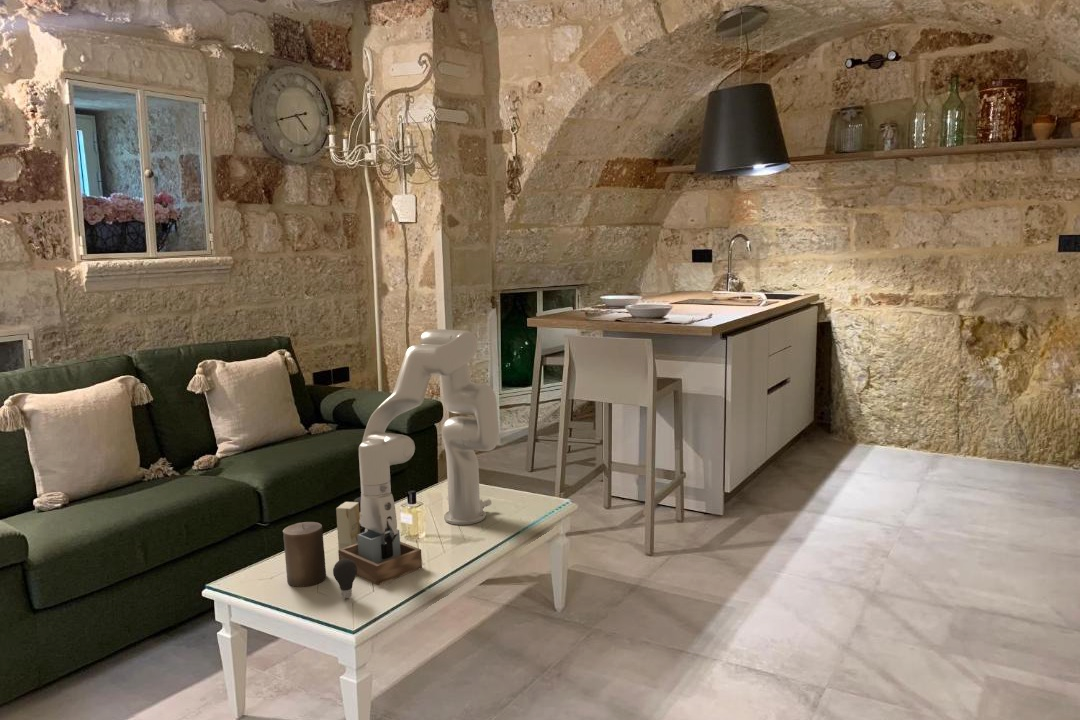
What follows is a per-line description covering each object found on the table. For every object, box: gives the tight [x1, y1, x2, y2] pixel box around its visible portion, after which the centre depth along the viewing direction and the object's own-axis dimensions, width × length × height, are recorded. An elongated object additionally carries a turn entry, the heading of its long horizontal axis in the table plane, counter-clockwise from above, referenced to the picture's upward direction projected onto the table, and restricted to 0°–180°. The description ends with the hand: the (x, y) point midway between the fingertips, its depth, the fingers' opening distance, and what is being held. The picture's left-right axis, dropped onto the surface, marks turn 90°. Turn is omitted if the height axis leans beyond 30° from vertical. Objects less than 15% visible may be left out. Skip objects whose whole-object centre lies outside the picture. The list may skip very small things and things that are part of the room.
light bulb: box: [332, 559, 357, 601], centre depth 199 cm, size 6×6×10 cm
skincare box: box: [335, 501, 361, 550], centre depth 233 cm, size 6×4×12 cm
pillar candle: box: [282, 521, 327, 587], centre depth 211 cm, size 10×10×15 cm
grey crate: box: [357, 528, 401, 564], centre depth 217 cm, size 9×6×7 cm, turn 137°
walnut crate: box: [337, 541, 423, 586], centre depth 218 cm, size 14×17×5 cm
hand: (379, 553), depth 217 cm, fingers closed on grey crate, 6 cm apart
